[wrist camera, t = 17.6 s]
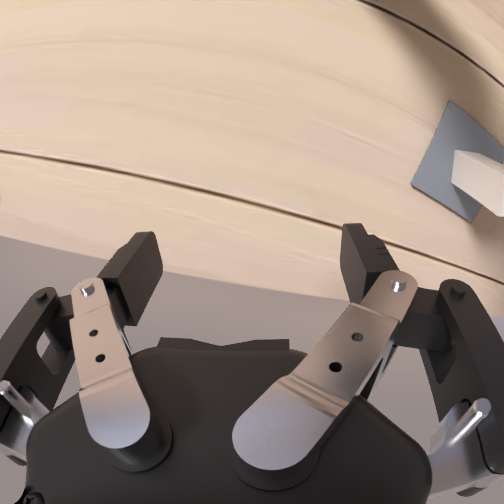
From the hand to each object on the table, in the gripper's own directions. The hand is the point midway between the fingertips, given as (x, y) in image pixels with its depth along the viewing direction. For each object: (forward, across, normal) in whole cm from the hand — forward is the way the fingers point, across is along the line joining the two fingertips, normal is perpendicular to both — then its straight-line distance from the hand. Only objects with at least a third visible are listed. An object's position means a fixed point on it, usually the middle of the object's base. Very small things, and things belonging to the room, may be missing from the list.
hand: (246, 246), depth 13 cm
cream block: (+27, -30, +3) cm, 40 cm away
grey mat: (+28, -30, +3) cm, 41 cm away
